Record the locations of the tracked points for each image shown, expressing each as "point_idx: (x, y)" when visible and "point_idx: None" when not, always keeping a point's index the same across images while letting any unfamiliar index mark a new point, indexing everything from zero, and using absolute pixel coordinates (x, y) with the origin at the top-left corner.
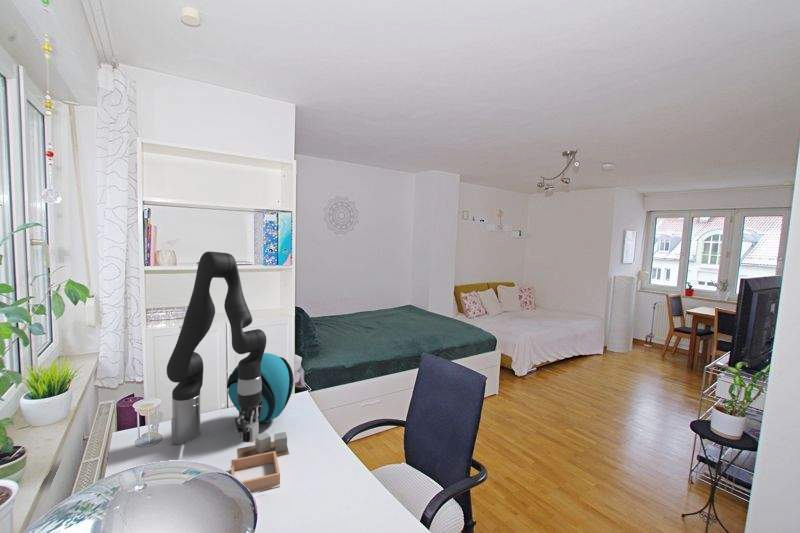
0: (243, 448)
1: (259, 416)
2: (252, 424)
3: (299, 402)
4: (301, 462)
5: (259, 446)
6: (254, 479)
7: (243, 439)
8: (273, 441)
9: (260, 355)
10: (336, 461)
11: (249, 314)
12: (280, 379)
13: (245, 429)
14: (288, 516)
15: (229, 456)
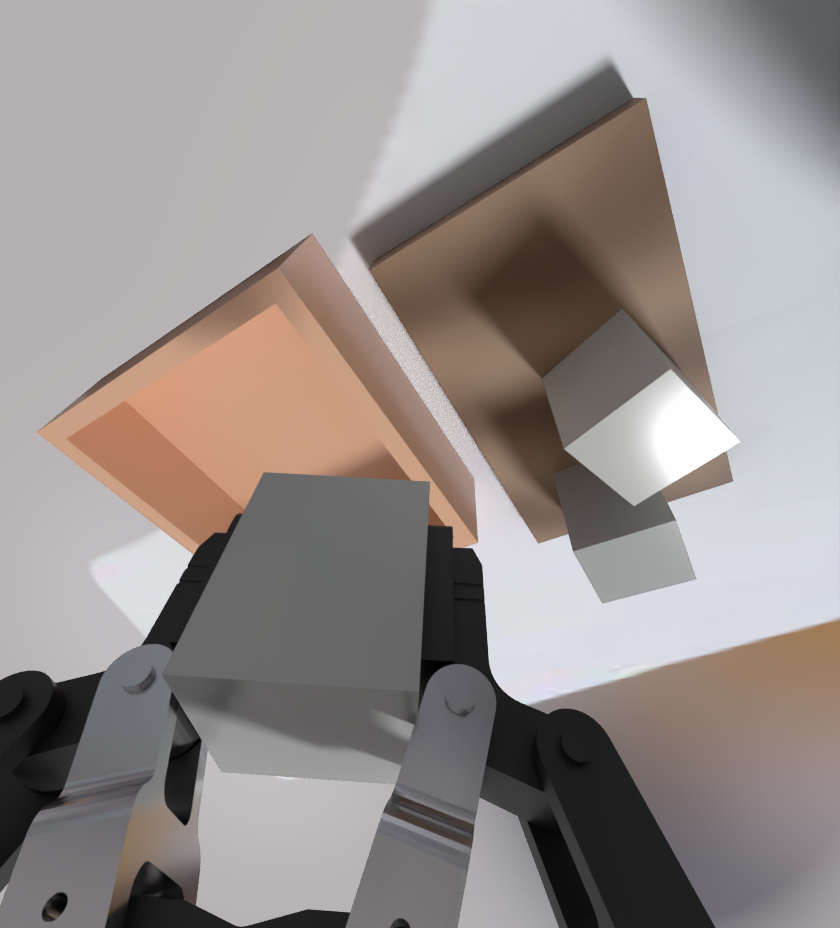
0: (639, 182)
1: (529, 829)
2: (318, 756)
3: None
4: (489, 582)
5: (560, 404)
6: (165, 528)
7: (198, 562)
8: (717, 414)
9: None
10: (505, 675)
11: None
12: None
13: (29, 812)
14: None
15: (547, 44)
